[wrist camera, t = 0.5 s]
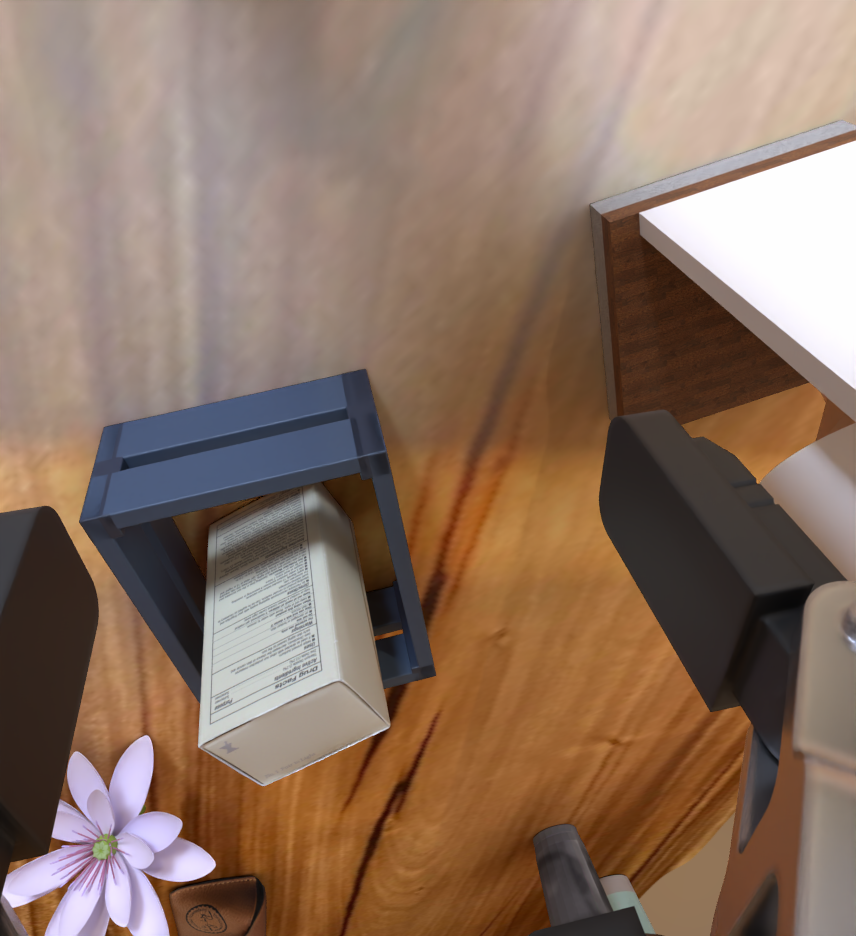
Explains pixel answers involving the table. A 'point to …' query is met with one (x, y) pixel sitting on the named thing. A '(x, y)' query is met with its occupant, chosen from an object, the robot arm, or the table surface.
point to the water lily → (110, 853)
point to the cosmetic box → (287, 638)
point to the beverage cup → (568, 876)
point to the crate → (234, 479)
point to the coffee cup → (625, 898)
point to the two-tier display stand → (744, 307)
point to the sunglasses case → (221, 908)
